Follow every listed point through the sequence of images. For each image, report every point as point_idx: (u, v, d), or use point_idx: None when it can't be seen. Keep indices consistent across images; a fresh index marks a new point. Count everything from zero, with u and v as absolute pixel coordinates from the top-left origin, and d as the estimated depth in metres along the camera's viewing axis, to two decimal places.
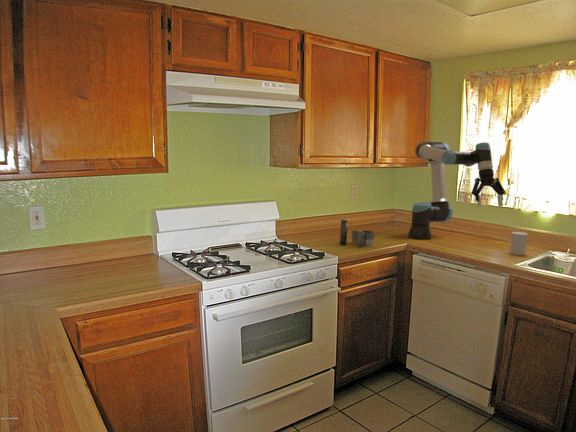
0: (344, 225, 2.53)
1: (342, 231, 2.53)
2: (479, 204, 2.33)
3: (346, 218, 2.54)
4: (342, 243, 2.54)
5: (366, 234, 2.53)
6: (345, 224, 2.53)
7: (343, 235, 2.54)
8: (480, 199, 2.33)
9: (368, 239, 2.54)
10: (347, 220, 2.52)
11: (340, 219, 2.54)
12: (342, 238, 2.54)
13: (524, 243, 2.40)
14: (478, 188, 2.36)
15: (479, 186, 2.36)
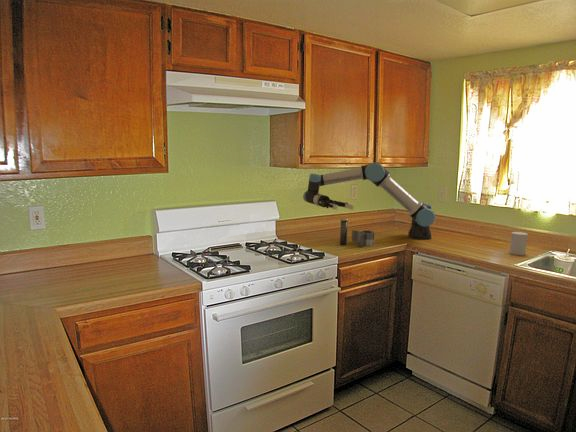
0: (344, 225, 2.52)
1: (342, 231, 2.53)
2: None
3: (346, 218, 2.54)
4: (342, 243, 2.54)
5: (366, 234, 2.53)
6: (345, 224, 2.53)
7: (343, 235, 2.54)
8: (348, 208, 2.61)
9: (368, 239, 2.54)
10: (347, 220, 2.52)
11: (340, 219, 2.54)
12: (342, 238, 2.54)
13: (524, 243, 2.40)
14: None
15: (337, 202, 2.66)
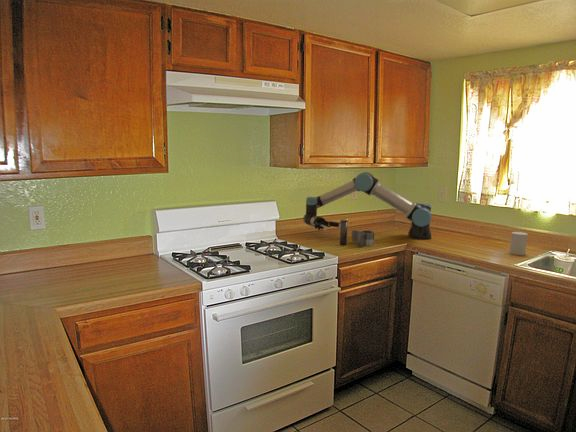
0: (344, 225, 2.52)
1: (342, 231, 2.53)
2: None
3: (346, 218, 2.54)
4: (342, 243, 2.54)
5: (366, 234, 2.53)
6: (345, 224, 2.53)
7: (343, 235, 2.54)
8: None
9: (368, 239, 2.54)
10: (347, 220, 2.52)
11: (340, 219, 2.54)
12: (342, 238, 2.54)
13: (524, 243, 2.40)
14: None
15: (331, 222, 2.75)
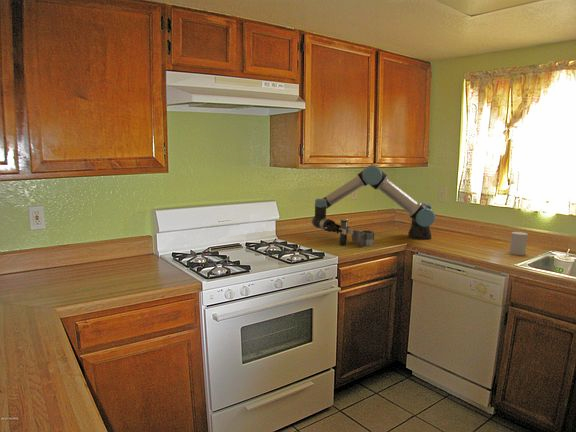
0: (344, 225, 2.52)
1: None
2: None
3: (346, 218, 2.54)
4: (342, 243, 2.54)
5: (366, 234, 2.53)
6: (345, 224, 2.53)
7: (343, 235, 2.54)
8: (348, 232, 2.55)
9: (368, 239, 2.54)
10: (347, 220, 2.52)
11: (340, 219, 2.54)
12: (342, 238, 2.54)
13: (524, 243, 2.40)
14: None
15: (340, 226, 2.62)
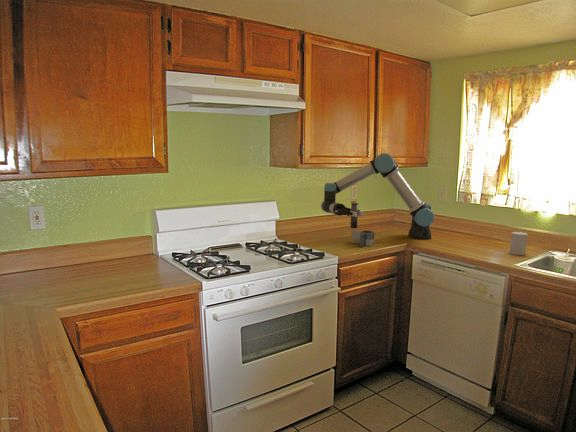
0: (355, 208, 2.52)
1: None
2: None
3: (357, 201, 2.54)
4: (353, 226, 2.54)
5: (366, 234, 2.53)
6: (356, 207, 2.52)
7: (354, 218, 2.53)
8: None
9: (368, 239, 2.54)
10: (358, 203, 2.52)
11: (351, 202, 2.53)
12: (353, 221, 2.53)
13: (524, 243, 2.40)
14: None
15: None
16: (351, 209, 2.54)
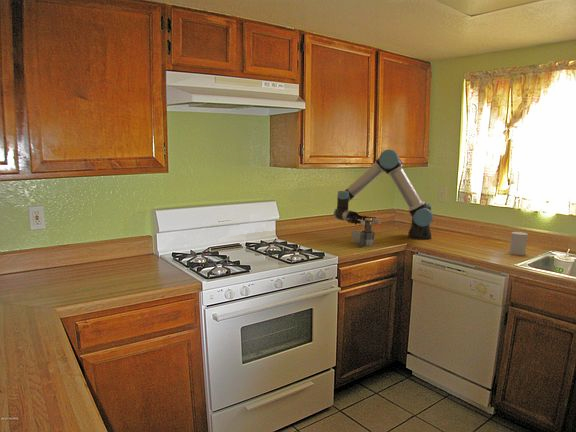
0: (369, 225, 2.54)
1: (366, 231, 2.55)
2: None
3: (370, 218, 2.56)
4: None
5: (366, 234, 2.53)
6: (369, 224, 2.55)
7: None
8: None
9: (368, 239, 2.54)
10: (371, 220, 2.54)
11: None
12: None
13: (524, 243, 2.40)
14: None
15: (365, 217, 2.65)
16: (365, 226, 2.56)
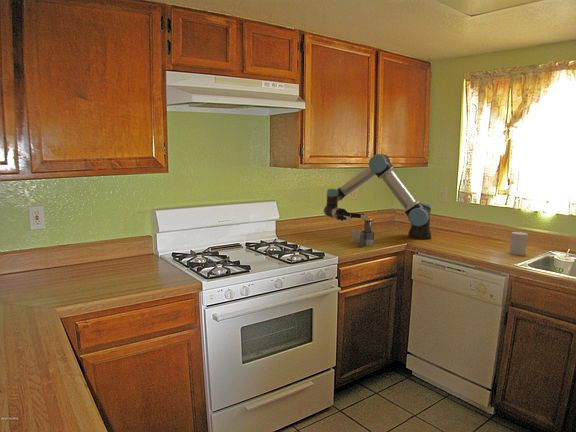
0: (368, 225, 2.54)
1: (366, 231, 2.55)
2: None
3: (370, 218, 2.56)
4: None
5: (366, 234, 2.53)
6: (369, 224, 2.54)
7: None
8: None
9: (368, 239, 2.54)
10: (371, 220, 2.54)
11: (364, 219, 2.56)
12: None
13: (524, 243, 2.40)
14: None
15: (353, 214, 2.76)
16: (364, 226, 2.56)
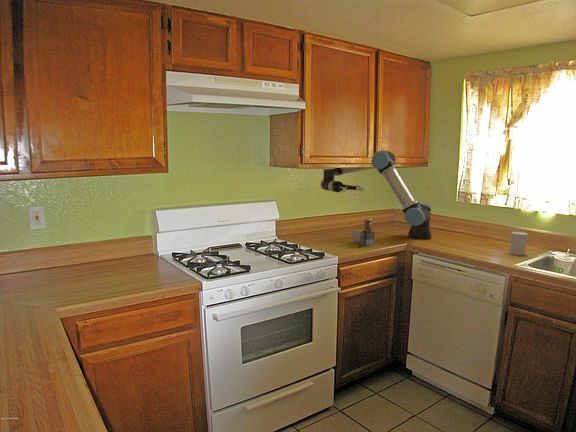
0: (368, 225, 2.54)
1: (366, 231, 2.55)
2: None
3: (370, 218, 2.56)
4: None
5: (366, 234, 2.53)
6: (369, 224, 2.54)
7: None
8: (359, 190, 2.77)
9: (368, 239, 2.54)
10: (371, 220, 2.54)
11: (364, 219, 2.56)
12: None
13: (524, 243, 2.40)
14: None
15: (349, 186, 2.83)
16: (364, 227, 2.56)
